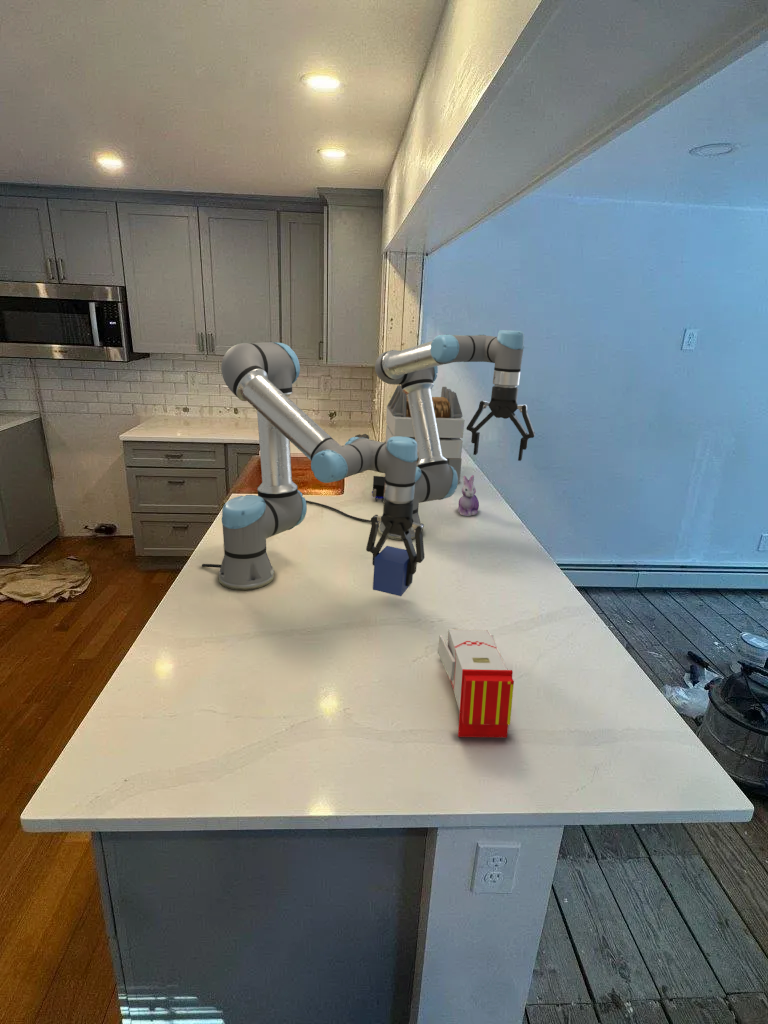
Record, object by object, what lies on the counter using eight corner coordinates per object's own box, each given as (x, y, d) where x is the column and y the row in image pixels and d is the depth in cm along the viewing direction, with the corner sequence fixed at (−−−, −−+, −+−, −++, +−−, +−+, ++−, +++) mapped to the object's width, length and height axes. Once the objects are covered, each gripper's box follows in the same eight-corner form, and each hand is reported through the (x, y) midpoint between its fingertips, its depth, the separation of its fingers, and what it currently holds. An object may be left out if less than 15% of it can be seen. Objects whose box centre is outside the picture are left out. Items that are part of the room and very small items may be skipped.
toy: (488, 613, 130) (523, 677, 101) (484, 667, 133) (517, 744, 104) (435, 612, 130) (455, 676, 101) (432, 666, 133) (451, 743, 103)
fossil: (345, 440, 316) (366, 424, 311) (356, 453, 319) (377, 438, 314) (339, 453, 297) (361, 437, 292) (350, 467, 300) (373, 452, 295)
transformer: (382, 463, 289) (386, 382, 275) (445, 464, 293) (451, 384, 279) (390, 482, 257) (394, 392, 243) (460, 483, 261) (468, 394, 247)
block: (401, 596, 146) (403, 564, 142) (372, 589, 148) (374, 557, 145) (412, 582, 153) (414, 551, 150) (384, 576, 156) (386, 545, 153)
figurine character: (387, 506, 231) (387, 491, 244) (388, 489, 228) (388, 474, 241) (371, 505, 231) (371, 490, 244) (372, 488, 227) (372, 474, 241)
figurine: (465, 518, 217) (469, 480, 212) (450, 509, 226) (454, 473, 221) (485, 515, 222) (489, 478, 217) (470, 507, 230) (473, 471, 225)
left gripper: (442, 501, 142) (434, 583, 150) (366, 488, 149) (362, 566, 157) (434, 511, 135) (426, 595, 143) (354, 496, 142) (351, 577, 150)
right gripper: (550, 388, 164) (540, 459, 172) (466, 381, 173) (460, 449, 180) (547, 391, 158) (537, 465, 165) (460, 383, 166) (454, 454, 173)
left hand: (393, 580), depth 150 cm, fingers closed on block, 8 cm apart
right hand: (497, 456), depth 172 cm, fingers open, 13 cm apart
